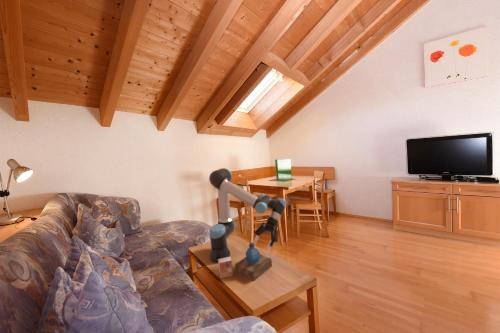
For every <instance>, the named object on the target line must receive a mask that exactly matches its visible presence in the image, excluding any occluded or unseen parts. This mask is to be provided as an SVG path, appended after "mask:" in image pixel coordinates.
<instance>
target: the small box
mask: <svg viewBox="0 0 500 333" xmlns="http://www.w3.org/2000/svg"><path fill="white" fill-rule="evenodd" d="M217 263H218V271H219V277H220V279H224V278H225V279H226V278H229V277H233V276H234V272H233V262H232V258H231V256H230V257H226V258H221V259H218V262H217Z"/></svg>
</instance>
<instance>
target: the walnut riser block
mask: <svg viewBox="0 0 500 333" xmlns="http://www.w3.org/2000/svg"><path fill="white" fill-rule="evenodd" d="M259 257H260V261H259V262H257V263H255V264H254V265H252V264H250V263H248V262H247V260H246V256H245V257H244V258H242V259H241V260H239V261H238V262H235V264H234V268H235V273H237V274H239V275H241V276H243V277H246V278H247V279H250V280H252V281H256V280H257V279H258V278H260V277H261V276H262V275H264V273H265V274H266V272H267V271H268V270H270V269H271V268H272V267H273V264H272V262H273V261H272V258H270V257H267V256H265V255H262V254H260V253H259Z"/></svg>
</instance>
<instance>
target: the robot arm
mask: <svg viewBox="0 0 500 333" xmlns="http://www.w3.org/2000/svg"><path fill="white" fill-rule="evenodd" d="M232 178H233V174H232V172H231V170H230V169H228V168H227V167H226V168H224V167H223V168H222V167H221V168H218V169H216V170H213V171H212V172H211V173H210V174H209V183H210V184H211V185H212V186H213V187H214V188H215V189H217V199H218V200H217V201H218V215H219V218H218V219H217V224H214V225H213V226H211V227H210V228H209V239H210V241H209V242H210V247H211V250H210V254H209V260H210V261H211V262H213V263H218V259H221V258H226V257H230V258H231V251H230V249H229V246H228V241H227V239H228V238H229V237H230V236H231V234H233V233H234V230H235V228H236V223H235V222H234V220H233V217H231V206H230V203H231V202H230V196H233V197H234V198H235V199H238V200H240V201H241V202H243V203H244V204H246V205H248V206H251V207H252V208H254V210H255V211H256V213H258V214H265V213H266V211H267V210H269V209H271V212H270V213H269V217H268V218H267V219H266V223H265V222H262V224H260V226H259V227H258V228H257V229H256V230H255V231H254V234H255V235H254V238H253V241H252V243H254V246H256V244H257V242H258V240H259V239H260V236H261V235H262V234H264V233H266V232H269V234H270V240H269V242H268V245H267V246H266V249H265V251H267V252H270V250H271V249H272V247H273V246H274V244H275V243H278V236H279V233H278V232H279V230H280V228H279V227H278V225H279V224H278V223H279V221H280V219H281V217H282V215H283V212H284V211H285V208H286V206H287V204H288V203H287V201H286V200H285V199H284V198H280V197H278V198H277V199H275V198H273V197H271V196H269V195H267V194H266V193H265V194H264V193H261V194H260V195H259V197H258V196H256V195H255V194H253V193H251V192H249V191H247V190H245V189H243V188H241V187H240V186H238V185H236V184H234V183H233V182H232Z"/></svg>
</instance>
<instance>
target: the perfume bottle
mask: <svg viewBox="0 0 500 333" xmlns="http://www.w3.org/2000/svg"><path fill="white" fill-rule="evenodd" d="M259 254H260V251H259V250H258V248H256V247H255V245H254V243H253V242H249V243H248V248H247V250H246V251H245V257H246V260H247V262H248V263H250V264H252V265H254V264H255V263H257V262H259V261H260V257H259Z"/></svg>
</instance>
